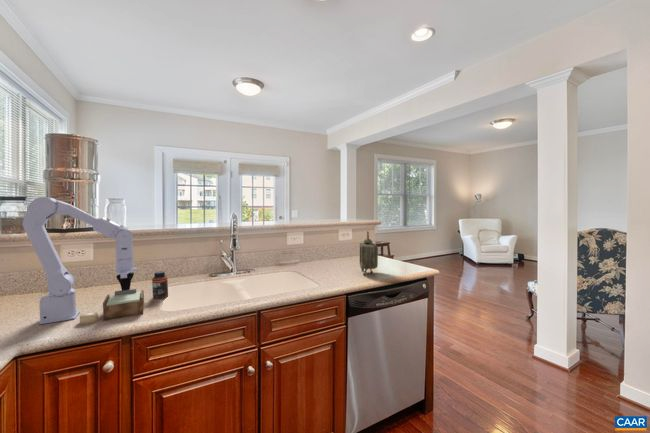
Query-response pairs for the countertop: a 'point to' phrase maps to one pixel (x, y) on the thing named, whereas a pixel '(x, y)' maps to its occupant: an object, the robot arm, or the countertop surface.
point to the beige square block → (88, 318)
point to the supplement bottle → (160, 285)
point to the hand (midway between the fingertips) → (126, 291)
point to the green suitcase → (368, 255)
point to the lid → (124, 297)
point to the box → (123, 308)
